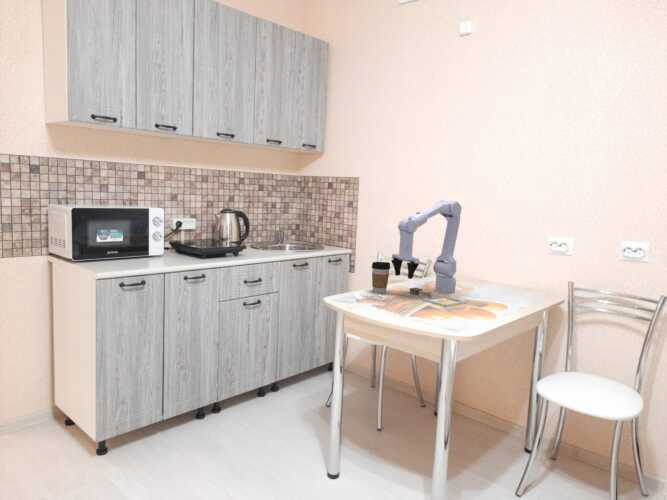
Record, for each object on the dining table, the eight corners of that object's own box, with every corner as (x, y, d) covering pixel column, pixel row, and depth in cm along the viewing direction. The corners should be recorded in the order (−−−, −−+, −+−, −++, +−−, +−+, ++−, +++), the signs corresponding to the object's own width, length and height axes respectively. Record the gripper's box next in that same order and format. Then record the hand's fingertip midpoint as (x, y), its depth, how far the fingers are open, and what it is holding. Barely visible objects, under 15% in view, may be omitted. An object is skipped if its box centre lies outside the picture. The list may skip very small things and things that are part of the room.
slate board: (418, 293, 238) (418, 290, 237) (443, 300, 226) (443, 297, 226) (397, 296, 229) (397, 293, 229) (422, 303, 217) (423, 300, 217)
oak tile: (424, 295, 228) (425, 289, 228) (431, 297, 225) (431, 291, 225) (418, 296, 226) (419, 290, 225) (425, 298, 223) (425, 292, 222)
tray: (443, 300, 226) (444, 295, 226) (465, 306, 217) (466, 301, 217) (422, 303, 217) (423, 298, 217) (444, 309, 208) (445, 304, 208)
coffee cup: (385, 297, 224) (388, 264, 222) (367, 295, 227) (369, 262, 225) (390, 294, 232) (392, 262, 230) (372, 291, 235) (374, 260, 233)
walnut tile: (415, 292, 232) (415, 287, 232) (422, 294, 229) (422, 289, 229) (409, 293, 230) (409, 288, 230) (416, 295, 227) (416, 290, 227)
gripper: (387, 244, 225) (385, 274, 227) (412, 249, 214) (410, 280, 216) (398, 244, 229) (396, 273, 231) (423, 248, 218) (420, 279, 220)
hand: (403, 276), depth 224 cm, fingers open, 7 cm apart
